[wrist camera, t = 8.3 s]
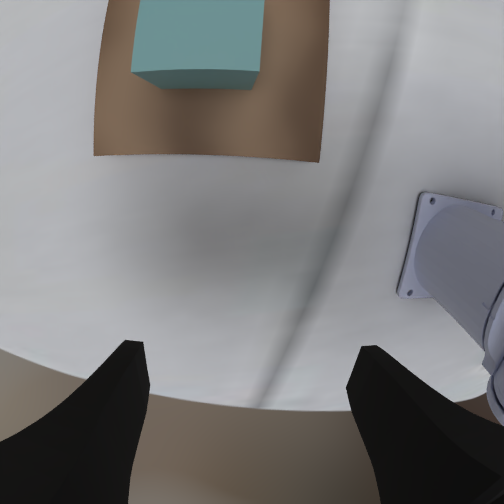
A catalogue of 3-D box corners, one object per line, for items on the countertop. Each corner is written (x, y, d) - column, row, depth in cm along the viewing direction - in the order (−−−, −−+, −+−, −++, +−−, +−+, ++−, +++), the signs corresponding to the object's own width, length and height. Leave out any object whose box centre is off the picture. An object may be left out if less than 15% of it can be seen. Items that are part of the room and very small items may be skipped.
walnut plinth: (320, -19, 13) (329, -32, 11) (310, 159, 17) (319, 162, 15) (127, -23, 12) (117, -35, 10) (107, 152, 16) (93, 156, 14)
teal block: (256, 12, 12) (266, -31, 7) (251, 90, 14) (259, 71, 9) (169, 12, 12) (146, -29, 7) (161, 89, 13) (130, 72, 9)
